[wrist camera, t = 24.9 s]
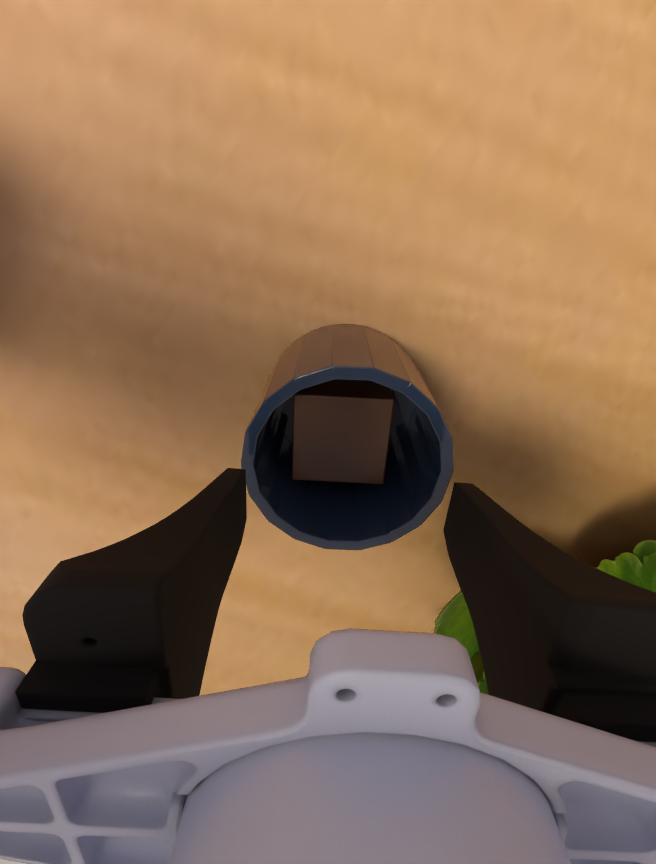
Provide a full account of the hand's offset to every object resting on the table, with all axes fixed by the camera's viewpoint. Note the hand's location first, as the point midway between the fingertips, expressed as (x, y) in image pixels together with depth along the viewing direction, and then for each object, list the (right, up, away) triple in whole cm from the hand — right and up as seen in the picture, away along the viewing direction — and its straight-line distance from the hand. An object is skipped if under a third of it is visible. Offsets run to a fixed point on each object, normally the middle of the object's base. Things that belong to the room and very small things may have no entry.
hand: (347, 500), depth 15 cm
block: (0, +4, +8) cm, 9 cm away
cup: (0, +4, +8) cm, 9 cm away
